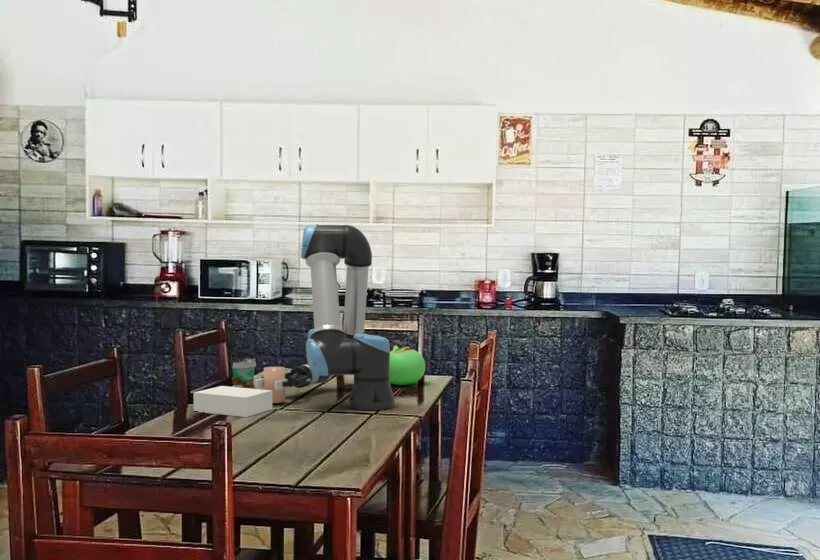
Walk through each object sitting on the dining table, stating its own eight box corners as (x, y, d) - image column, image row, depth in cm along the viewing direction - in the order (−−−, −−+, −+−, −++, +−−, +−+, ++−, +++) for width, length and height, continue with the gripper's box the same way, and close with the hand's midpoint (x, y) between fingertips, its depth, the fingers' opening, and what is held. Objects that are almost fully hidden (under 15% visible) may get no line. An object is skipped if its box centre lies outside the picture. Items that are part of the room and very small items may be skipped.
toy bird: (409, 389, 302) (409, 349, 301) (370, 385, 310) (370, 346, 310) (433, 383, 317) (433, 345, 317) (395, 379, 326) (395, 342, 325)
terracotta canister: (289, 400, 276) (289, 367, 275) (277, 403, 269) (277, 369, 269) (271, 398, 279) (271, 366, 278) (259, 402, 272) (259, 368, 272)
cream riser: (272, 409, 264) (272, 390, 264) (246, 417, 251) (245, 397, 251) (221, 404, 273) (221, 385, 272) (193, 411, 260) (193, 392, 260)
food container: (248, 390, 299) (248, 363, 298) (232, 390, 300) (232, 362, 299) (261, 385, 311) (261, 358, 310) (246, 384, 312) (246, 358, 312)
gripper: (328, 388, 286) (291, 398, 265) (280, 384, 294) (240, 394, 273) (328, 366, 286) (291, 375, 265) (279, 363, 294) (240, 371, 273)
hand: (265, 385), depth 269 cm, fingers closed on terracotta canister, 7 cm apart
